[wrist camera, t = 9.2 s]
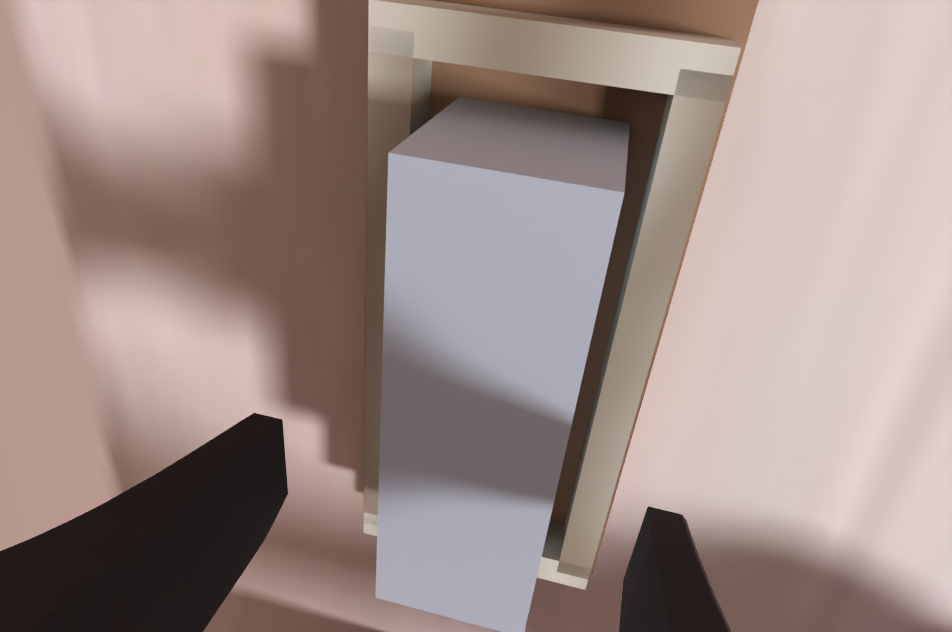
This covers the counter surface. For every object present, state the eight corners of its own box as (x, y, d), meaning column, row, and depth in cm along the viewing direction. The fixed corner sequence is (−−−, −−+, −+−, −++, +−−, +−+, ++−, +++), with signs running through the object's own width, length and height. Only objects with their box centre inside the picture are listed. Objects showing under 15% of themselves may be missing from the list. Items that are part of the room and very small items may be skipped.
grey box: (630, 122, 15) (624, 192, 10) (547, 497, 21) (523, 638, 16) (459, 96, 15) (388, 152, 11) (428, 468, 21) (375, 597, 17)
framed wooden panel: (755, -16, 14) (775, -10, 11) (594, 550, 23) (588, 612, 21) (396, -58, 15) (354, -59, 13) (380, 498, 24) (354, 551, 22)
